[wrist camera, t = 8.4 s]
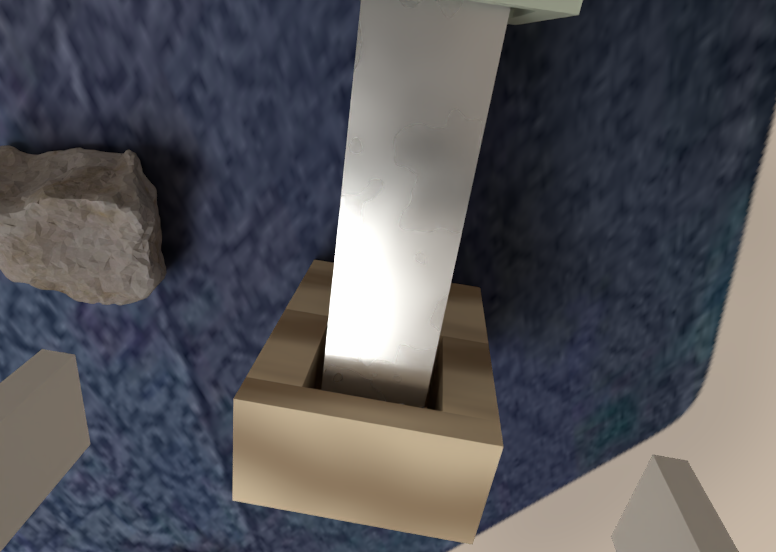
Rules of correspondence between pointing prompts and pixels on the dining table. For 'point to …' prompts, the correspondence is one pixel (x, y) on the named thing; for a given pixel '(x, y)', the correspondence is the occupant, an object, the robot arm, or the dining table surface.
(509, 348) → the dining table surface
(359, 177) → the grey-banded white peg
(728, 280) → the dining table surface
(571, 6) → the sleeve
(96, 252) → the stone
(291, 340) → the socket block
